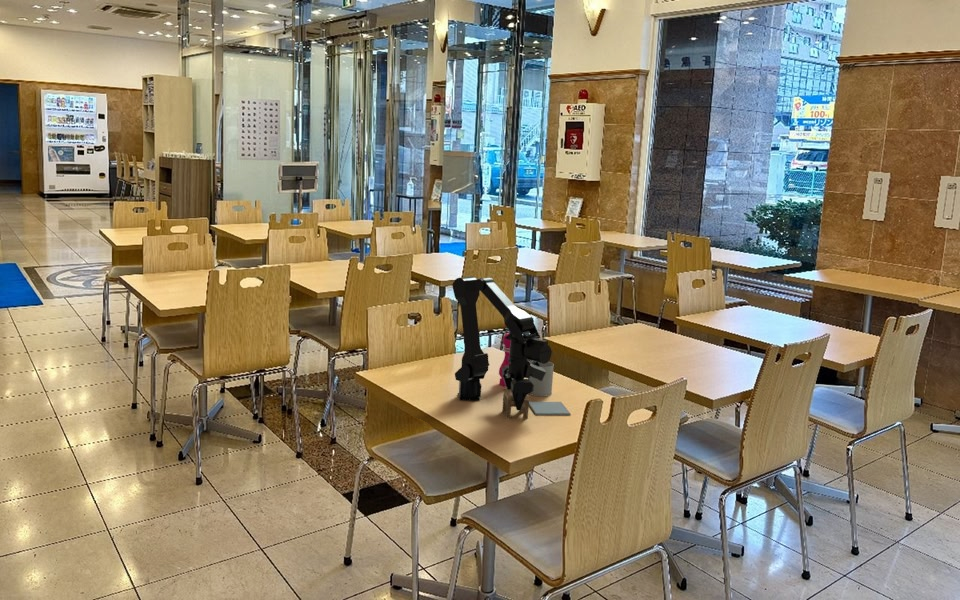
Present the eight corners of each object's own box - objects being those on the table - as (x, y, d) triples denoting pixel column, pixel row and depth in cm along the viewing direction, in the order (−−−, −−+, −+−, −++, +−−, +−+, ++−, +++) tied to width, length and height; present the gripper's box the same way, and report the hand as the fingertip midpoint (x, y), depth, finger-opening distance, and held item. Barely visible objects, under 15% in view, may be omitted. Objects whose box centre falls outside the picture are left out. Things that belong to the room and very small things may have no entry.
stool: (506, 418, 234) (507, 396, 233) (502, 410, 241) (503, 389, 239) (527, 418, 235) (529, 396, 234) (523, 411, 242) (524, 389, 240)
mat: (535, 415, 239) (536, 413, 239) (527, 403, 249) (528, 401, 249) (570, 415, 241) (570, 413, 240) (561, 403, 251) (561, 401, 251)
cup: (536, 397, 256) (538, 368, 254) (521, 390, 263) (523, 361, 261) (556, 394, 261) (558, 365, 259) (541, 387, 267) (543, 359, 265)
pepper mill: (498, 387, 264) (502, 330, 260) (497, 381, 271) (501, 325, 267) (519, 388, 264) (523, 331, 260) (518, 382, 271) (522, 326, 268)
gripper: (552, 365, 227) (548, 415, 230) (537, 348, 245) (534, 395, 248) (515, 364, 225) (511, 415, 228) (503, 347, 243) (499, 395, 246)
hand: (515, 405), depth 238 cm, fingers open, 9 cm apart
